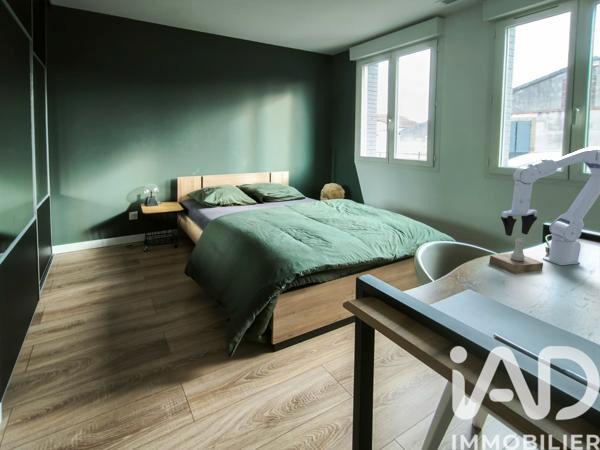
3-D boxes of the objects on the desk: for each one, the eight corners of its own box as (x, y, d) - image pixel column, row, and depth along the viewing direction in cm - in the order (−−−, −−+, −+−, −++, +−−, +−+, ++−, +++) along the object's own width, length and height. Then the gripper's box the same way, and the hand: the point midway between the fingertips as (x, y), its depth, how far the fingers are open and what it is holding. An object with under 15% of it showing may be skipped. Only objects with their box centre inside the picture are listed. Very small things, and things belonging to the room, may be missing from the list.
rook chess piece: (525, 262, 132) (528, 240, 130) (511, 260, 133) (514, 239, 131) (522, 258, 136) (525, 237, 134) (509, 257, 137) (512, 236, 135)
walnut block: (515, 260, 143) (516, 252, 142) (542, 270, 131) (543, 262, 131) (489, 262, 140) (490, 255, 139) (514, 274, 128) (515, 266, 128)
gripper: (514, 202, 131) (509, 238, 134) (546, 200, 135) (540, 235, 138) (499, 199, 138) (494, 233, 141) (530, 197, 141) (525, 231, 145)
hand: (516, 234), depth 140 cm, fingers open, 7 cm apart
